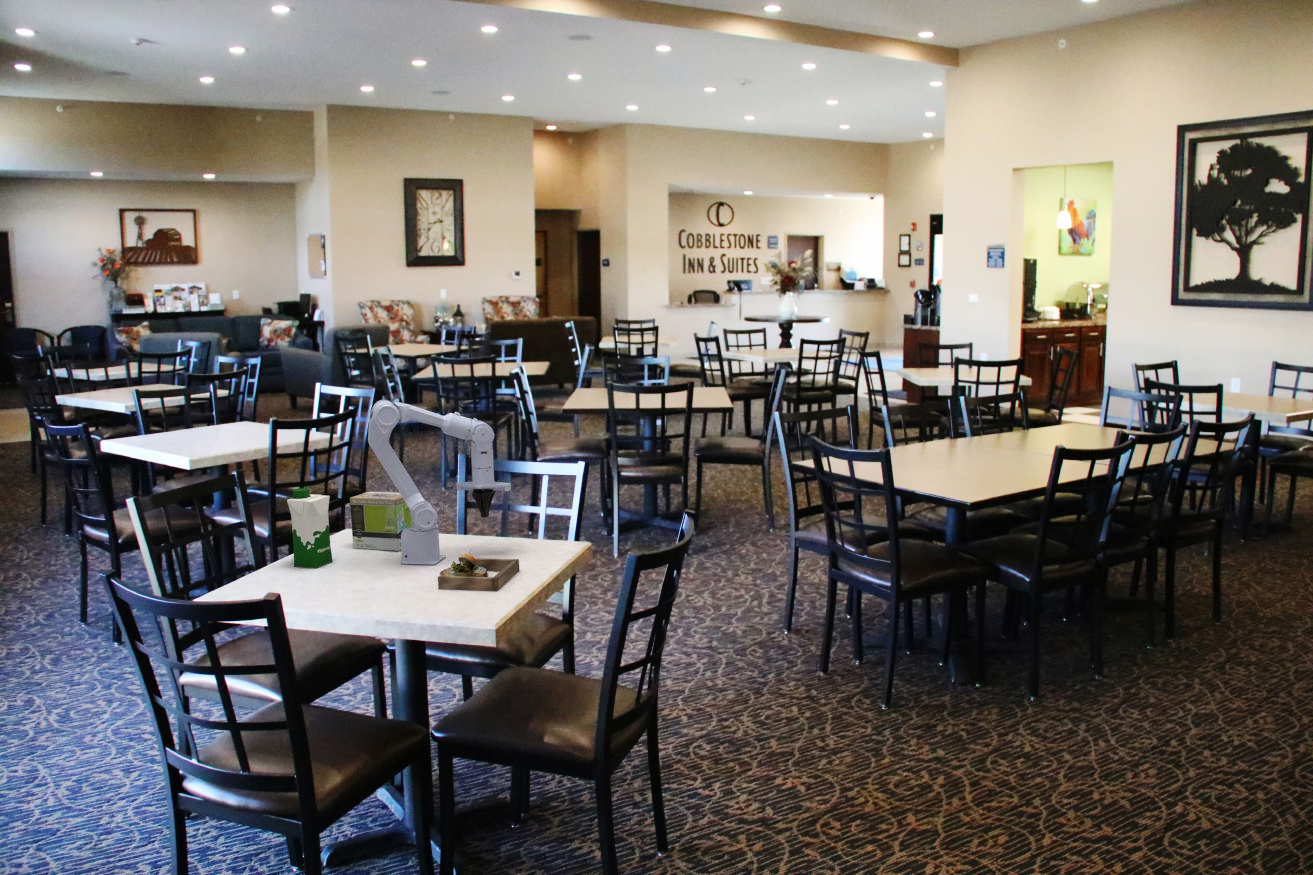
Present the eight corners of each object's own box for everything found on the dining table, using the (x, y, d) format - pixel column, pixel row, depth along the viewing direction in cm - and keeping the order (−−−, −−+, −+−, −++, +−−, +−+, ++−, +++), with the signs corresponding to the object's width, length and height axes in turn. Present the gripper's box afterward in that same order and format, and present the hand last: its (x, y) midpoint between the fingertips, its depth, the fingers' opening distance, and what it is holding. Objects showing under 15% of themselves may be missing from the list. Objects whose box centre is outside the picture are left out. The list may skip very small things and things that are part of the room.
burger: (433, 576, 260) (431, 547, 259) (477, 569, 266) (476, 540, 265) (450, 588, 250) (448, 558, 249) (495, 580, 256) (494, 550, 255)
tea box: (418, 543, 293) (415, 492, 290) (398, 552, 283) (395, 499, 281) (372, 540, 298) (369, 489, 295) (351, 548, 288) (348, 496, 286)
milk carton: (309, 558, 279) (304, 485, 275) (338, 560, 276) (333, 487, 273) (288, 567, 270) (282, 492, 267) (317, 569, 267) (312, 494, 264)
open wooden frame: (438, 589, 248) (437, 576, 248) (464, 568, 265) (463, 557, 265) (497, 591, 246) (496, 578, 245) (519, 570, 263) (518, 559, 262)
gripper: (451, 469, 273) (453, 519, 275) (504, 470, 270) (506, 520, 272) (460, 464, 280) (463, 513, 282) (512, 465, 277) (514, 514, 279)
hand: (485, 516), depth 277 cm, fingers closed
